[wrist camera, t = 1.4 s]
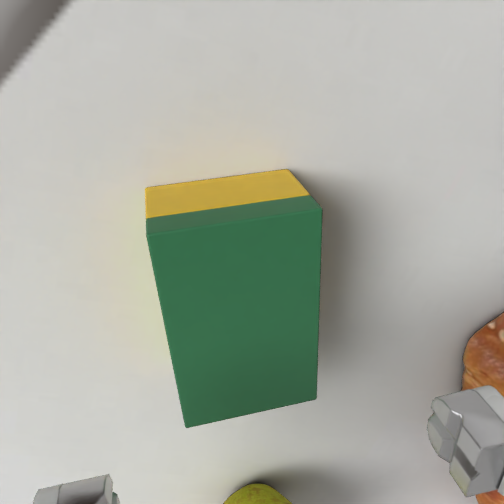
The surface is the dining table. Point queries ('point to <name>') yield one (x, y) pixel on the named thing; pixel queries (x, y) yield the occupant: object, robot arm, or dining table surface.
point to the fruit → (257, 495)
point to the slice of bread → (486, 373)
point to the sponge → (238, 291)
